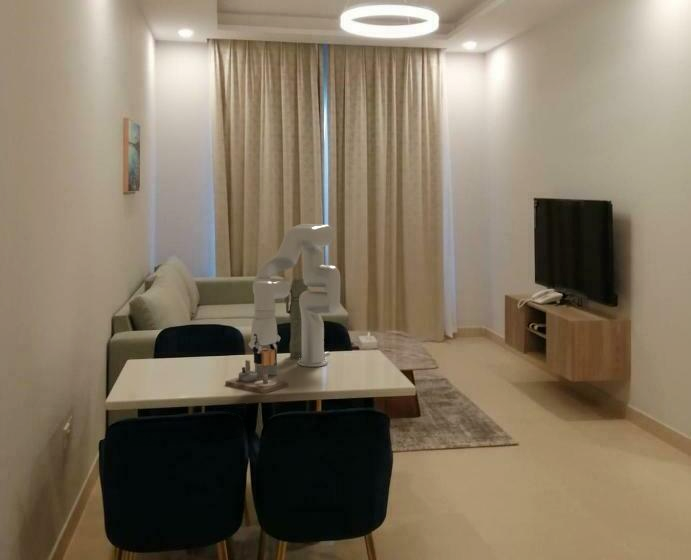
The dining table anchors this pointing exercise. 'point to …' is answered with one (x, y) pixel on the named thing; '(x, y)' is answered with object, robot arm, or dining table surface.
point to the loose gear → (267, 357)
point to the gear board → (256, 388)
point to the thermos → (295, 317)
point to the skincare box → (271, 368)
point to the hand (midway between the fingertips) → (265, 361)
